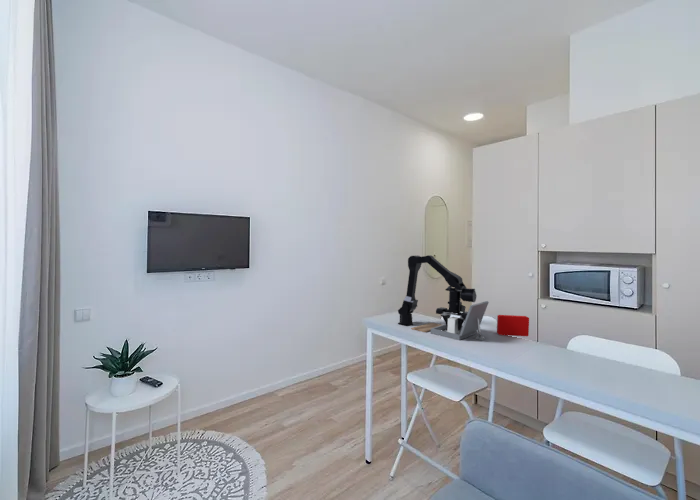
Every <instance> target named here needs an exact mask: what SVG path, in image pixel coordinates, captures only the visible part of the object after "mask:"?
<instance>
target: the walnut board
mask: <svg viewBox="0 0 700 500" xmlns="http://www.w3.org/2000/svg"><path fill="white" fill-rule="evenodd" d="M441 325H442V324H441V323H435V322H427V323H425V324H422V325H418V326H413V327H411V330H413V331H418V332H422V333H429V332H431V328H434V327H438V326H441Z"/></svg>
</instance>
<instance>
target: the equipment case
mask: <svg viewBox="0 0 700 500" xmlns="http://www.w3.org/2000/svg"><path fill="white" fill-rule="evenodd" d="M477 325H478V330H476V331H473V332H470V333H468V334H465V335H463V336H460V333H459V334H455V333H450V332H447V331H445V330H447V325H446V323H444V324H441V326H438V327H434V328H431V331H430V334H432V335H434V336H435V335H436V336H439V335H440V337H444V338H448V339H452V340H456V341H457V340H458V341H461V340H463V339H465V338H469V337H471V336H473V334H474V335H476V334H477V331H478V335H477V336H475V340H478V341H484V340H485V336H482V331H481V324H479V319H477ZM462 327H463V325H462ZM462 327H461V329H460V331H461V330H462ZM444 329H445V330H444ZM441 330H442V331H441ZM468 336H469V337H468Z"/></svg>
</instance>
